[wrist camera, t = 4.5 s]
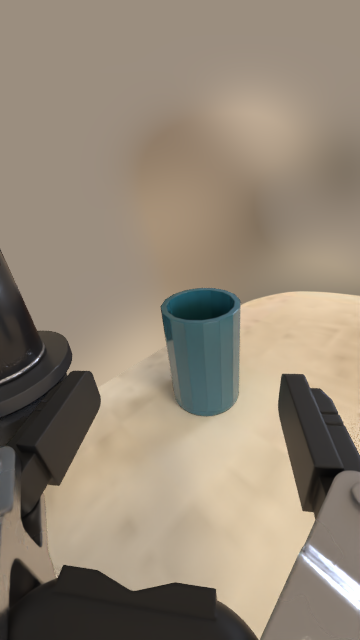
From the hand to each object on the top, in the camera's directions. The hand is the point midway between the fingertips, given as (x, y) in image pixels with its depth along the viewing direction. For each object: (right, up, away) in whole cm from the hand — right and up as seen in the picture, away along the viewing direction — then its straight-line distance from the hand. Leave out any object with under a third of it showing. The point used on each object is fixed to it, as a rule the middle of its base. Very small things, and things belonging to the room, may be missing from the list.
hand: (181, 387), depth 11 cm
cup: (+3, -4, +15) cm, 16 cm away
